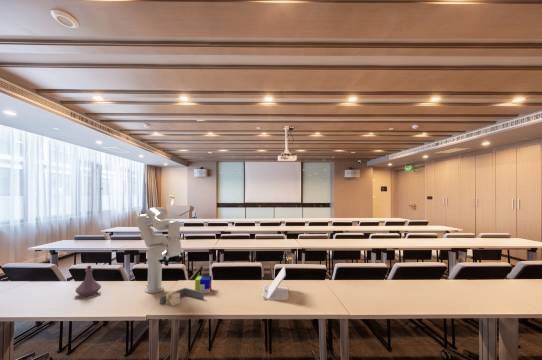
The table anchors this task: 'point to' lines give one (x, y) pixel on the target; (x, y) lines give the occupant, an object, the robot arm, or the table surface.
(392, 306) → the table surface
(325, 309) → the table surface
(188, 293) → the arena
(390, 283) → the table surface
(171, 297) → the birch block
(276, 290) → the tablet stand
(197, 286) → the puzzle toy
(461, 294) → the table surface
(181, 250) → the robot arm
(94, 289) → the flask
